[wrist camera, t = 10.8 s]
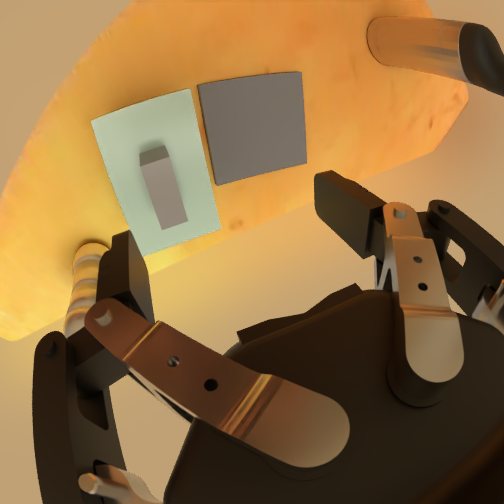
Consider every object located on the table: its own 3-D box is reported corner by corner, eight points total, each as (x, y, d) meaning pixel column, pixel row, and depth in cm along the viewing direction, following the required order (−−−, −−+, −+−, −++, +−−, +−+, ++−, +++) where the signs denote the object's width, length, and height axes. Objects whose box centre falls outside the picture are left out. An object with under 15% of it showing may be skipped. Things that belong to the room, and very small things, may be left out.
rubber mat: (297, 71, 33) (301, 72, 33) (303, 161, 42) (306, 163, 41) (197, 85, 30) (198, 85, 30) (215, 183, 39) (217, 186, 38)
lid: (188, 88, 22) (199, 90, 18) (219, 225, 31) (233, 249, 28) (92, 119, 20) (82, 128, 16) (141, 252, 29) (145, 280, 26)
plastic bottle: (114, 235, 37) (115, 350, 22) (117, 273, 41) (125, 387, 26) (72, 237, 35) (50, 352, 20) (78, 275, 38) (70, 390, 23)
